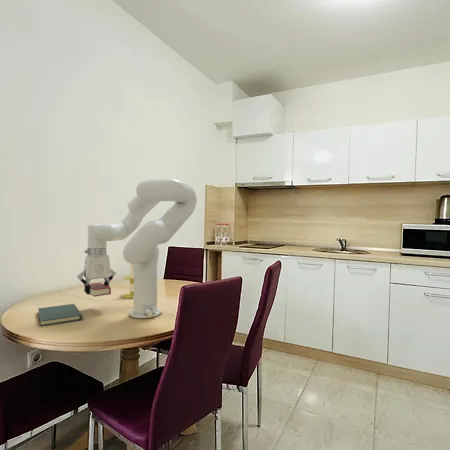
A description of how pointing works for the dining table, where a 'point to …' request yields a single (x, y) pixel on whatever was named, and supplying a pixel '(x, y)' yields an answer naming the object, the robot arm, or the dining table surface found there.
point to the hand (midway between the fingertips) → (97, 292)
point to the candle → (131, 277)
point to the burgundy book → (99, 289)
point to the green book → (58, 314)
